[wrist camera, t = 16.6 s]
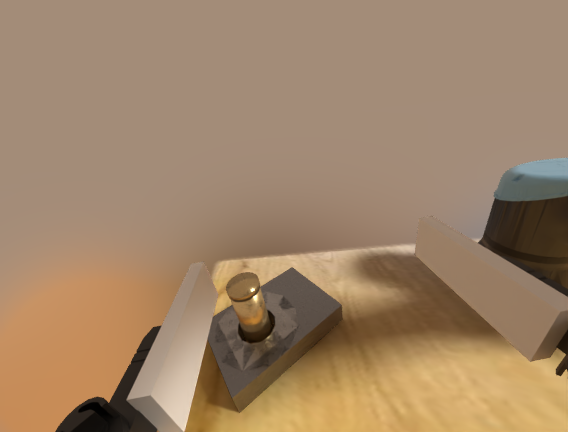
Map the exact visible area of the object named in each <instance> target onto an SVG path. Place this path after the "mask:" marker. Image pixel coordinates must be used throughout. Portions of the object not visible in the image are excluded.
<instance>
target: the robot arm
mask: <svg viewBox="0 0 568 432" xmlns="http://www.w3.org/2000/svg"><path fill="white" fill-rule="evenodd" d="M494 197H495V199H494V202H493V205H492V209H491V212H490V215H489V218H488V221H487V225H486V228H485V231H484V235H483V237H482V239H481V240H480V241H479V242H478V243H477V242H475V241H473V240H472V239H470V238H468V237H466V236H465V235H463V234H462V233H460V232H458V231H456V230H455V229H453V228H451V227H450V226H448V225H446V224H445V223H443V222H441V221H440V220H438V219H436V218H435V217H433V216H428V217H423V218H419V225H418V232H417V240H416V248H415V256H416V257H417V258H418V259H419V260H421V261H422V262H423V263H424V264H425V265H426V266H427V267H428V268H429V269H430V270H431V271H432V272H434V273H435V274H436V275H437V276H438V277H439V278H440V279H441V280H442V281H443V282H444V283H445V284H447V285H448V286H449V287H450V288H451V289H452V290H453V291H454V292H455V293H456V294H457V295H458V296H460V297H461V298H462V299H463V300H464V301H465V302H466V303H467V304H468V305H469V306H470V307H471V308H473V309H474V310H475V311H476V312H477V313H478V314H479V315H480V316H481V317H482V318H483V319H484V320H486V321H487V322H488V323H489V324H490V325H491V326H492V327H493V328H494V329H495V330H496V331H497V332H499V333H500V334H501V335H502V336H503V337H504V338H505V339H506V340H507V341H508V342H509V343H510V344H512V345H513V346H514V347H515V348H516V349H517V350H518V351H519V352H520V353H521V354H522V355H523V356H525V357H526V358H527V359H528V360H529V361H530V362H531V361H535V360H540V359H545V358H550V357H551V355H552V354H553V352H554V351H555V349H556V348H559V349H560V350H561V351H562V352H564V353H565V354H566V356H565V357H564V359H563V360H562V361H561V363H560V364H559V366H558V367H557V368H556V375H559V376H561V375H562V374H563V373H564V371H565V370H566V369H567V371H568V158H557V159H547V160H539V161H533V162H529V163H524V164H521V165H518V166H515V167H513V168H511V169H509V170H507V171H506V172H505V173H504V174H503V176H502V177H501V180H500V183H499V185H498V188H497V190H496V191H495V192H494ZM217 298H218V293H217V290H216V288H215V286H214V284H213V281H212V279H211V277H210V274H209V272H208V270H207V268H206V265H205V263H204V262H199V263H194V264H191V266H190V268H189V270H188V272H187V274H186V276H185V278H184V280H183V282H182V284H181V287H180V289H179V291H178V293H177V295H176V297H175V299H174V301H173V303H172V306H171V307H170V310H169V312H168V314H167V316H166V318H165V320H164V322H163V324H162V326H157V327H153V328H152V329H151V330H150V332H149V333H148V334H147V335H146V336H145V337H144V339H143V340H142V342H141V344H140V346H139V348H138V349H137V353H136V354H135V355H134V357H133V359H132V361H131V364H130V365H129V366H128V368H127V370H126V372H125V374H124V376H123V378H122V380H121V381H120V383H119V385H118V387H117V389H116V391H115V393H114V395H113V396H112V398H111V400H110V402H109V403H108V402H107V401H106V400H105V399H104V398H101V397H95V398H92V399H88V400H87V401H85V402H84V403H82V404H81V405H79V406H78V407H76V408H75V409H74V410H73V411H72V412H71V413H70V414H69V415H68V416H67V417H66V418H65V419H64V421H63V422H62V423H61V424H60V426H58V428H57V430H56V432H157V430H158V431H159V432H185V428H186V424H187V420H188V416H189V412H190V408H191V404H192V400H193V396H194V392H195V387H196V383H197V379H198V375H199V371H200V367H201V363H202V359H203V355H204V351H205V347H206V343H207V339H208V334H209V330H210V326H211V322H212V318H213V314H214V310H215V306H216V302H217Z"/></svg>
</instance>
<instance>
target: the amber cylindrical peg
mask: <svg viewBox="0 0 568 432" xmlns="http://www.w3.org/2000/svg"><path fill="white" fill-rule="evenodd" d="M226 291H227V293H228V296H229V298H230V299H231V302H232V304H233V307H234V310H235V312H236V315H237V317H238V320H239V323H240V325H241V328H242V330H243V333H244V335H245V338H246V341H247V343H250V344H253V343H258V342H262V341H263V340H265V339H266V338H267V337H268V336H270V335H271V333H272V331H273V330H272V326H271V323H270V319H269V316H268V312H267V309H266V306H265V302H264V299H263V295H262V292H261V288H260V283H259V279H258V277H257V275H256V274H254V273H250V272H245V273H241V274H238V275H236V276H235V277H233V278H232V279H231V280H230V281H229V282H228V284H227V286H226Z"/></svg>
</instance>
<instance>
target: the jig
mask: <svg viewBox="0 0 568 432" xmlns="http://www.w3.org/2000/svg"><path fill="white" fill-rule="evenodd" d="M260 288H261V292H262V295H263V299H264V302H265V306H266V309H267V312H268V316H269V319H270V323H271V324H274V325H275V327H274V329H273V331H272V333H271V335H270V336H268V337H267V338H266V339H265V340H263V341H262V342H258V343H253V344H250V343H247V342H244V337H245V335H244V333H243V330H242V328H241V325H240V323H239V320H238V317H237V315H236V312H235V310H234V307H233V305H231V306H230V307H228V308H226V309H225V310H223V311H222V312H220V313H218V314H217V315H215V316H214V317H213V318H212V322H211V326H210V330H209V334H208V341H209V344H210V346H211V348H212V351H213V353H214V356H215V358H216V361H217V363H218V366H219V368H220V370H221V373H222V375H223V378H224V380H225V383H226V385H227V388H228V390H229V392H230V395H231V397H232V399H233V401H234V403H235V405H236V407H237V409H238V411H239V413H240V412H241V411H242V410H243V409H244V408H245V407H246V406H247V405H249V404H250V403H251V402H252V401H253V400H254V399H255V398H256V397H257V396H259V395H260V394H261V393H262V392H263V391H264V390H265V389H266V388H267V387H268V386H270V385H271V384H272V383H273V382H274V381H275V380H276V379H277V378H278V377H280V376H281V375H282V374H283V373H284V372H285V371H286V370H287V369H288V368H289V367H291V366H292V365H293V364H294V363H295V362H296V361H297V360H298V359H299V358H301V357H302V356H303V355H304V354H305V353H306V352H307V351H308V350H309V349H310V348H312V347H313V346H314V345H315V344H316V343H317V342H318V341H319V340H320V339H322V338H323V337H324V336H325V335H326V334H327V333H328V332H329V331H330V330H331V329H333V328H334V327H335V326H336V325H337V324H338V323H339V322H340V321H341V320H343V318H342V305H341V304H340V303H339V302H337V301H336V300H335V299H333V298H332V297H331V296H329V295H328V294H327V293H325V292H324V291H323V290H321V289H320V288H319V287H318V286H316V285H315V284H314V283H312V282H311V281H310V280H308V279H307V278H306V277H304V276H303V275H302V274H300V273H299V272H298V271H296V270H295V269H294V268H290V269H289V270H287V271H285V272H284V273H282V274H281V275H279V276H277V277H276V278H274V279H273V280H271V281H269V282H268V283H266V284H265V285H263V286H261V287H260Z"/></svg>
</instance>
